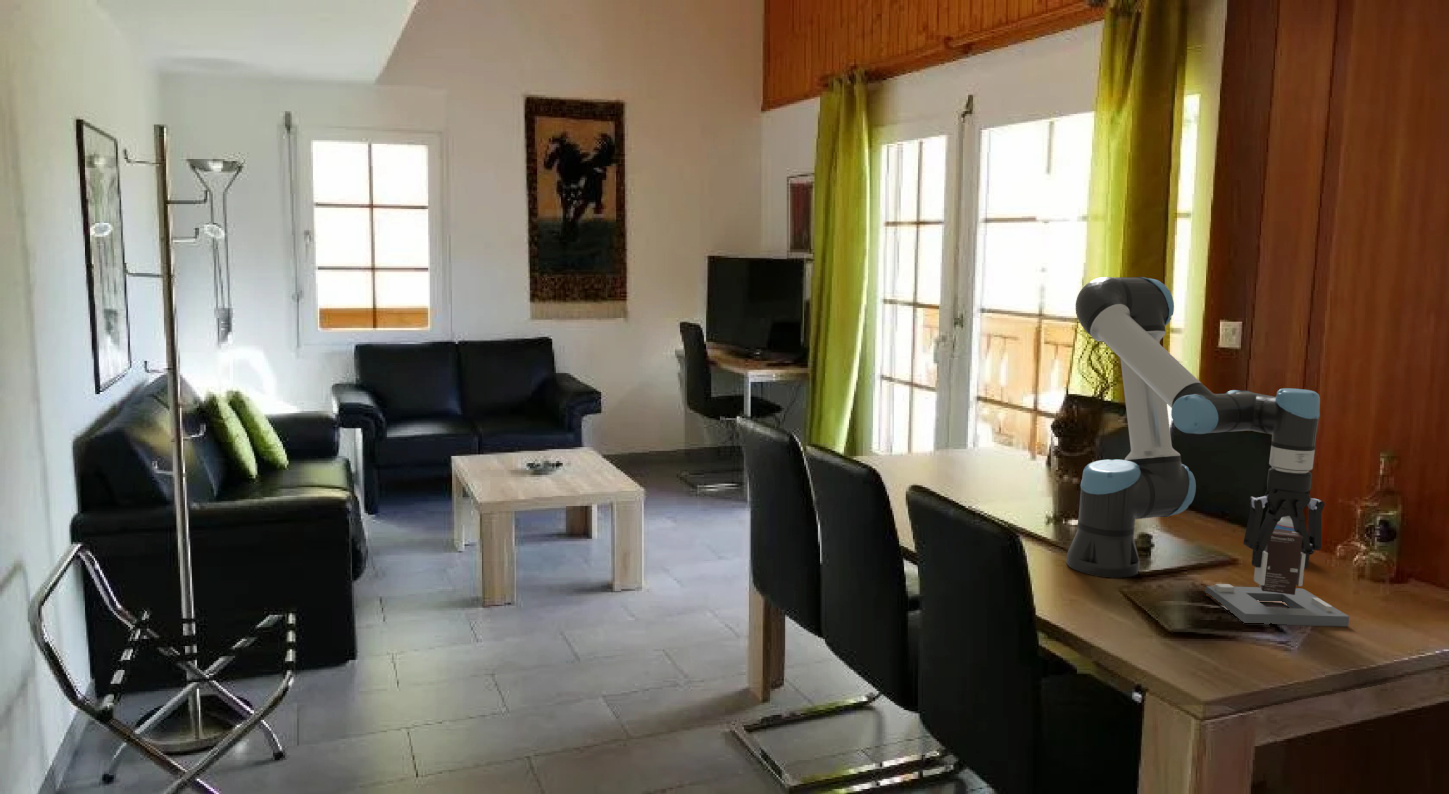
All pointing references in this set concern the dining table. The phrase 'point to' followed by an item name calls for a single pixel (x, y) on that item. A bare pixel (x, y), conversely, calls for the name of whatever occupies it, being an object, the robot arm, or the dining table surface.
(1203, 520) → the dining table surface
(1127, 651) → the dining table surface
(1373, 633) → the dining table surface
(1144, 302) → the robot arm
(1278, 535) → the box
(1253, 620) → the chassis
